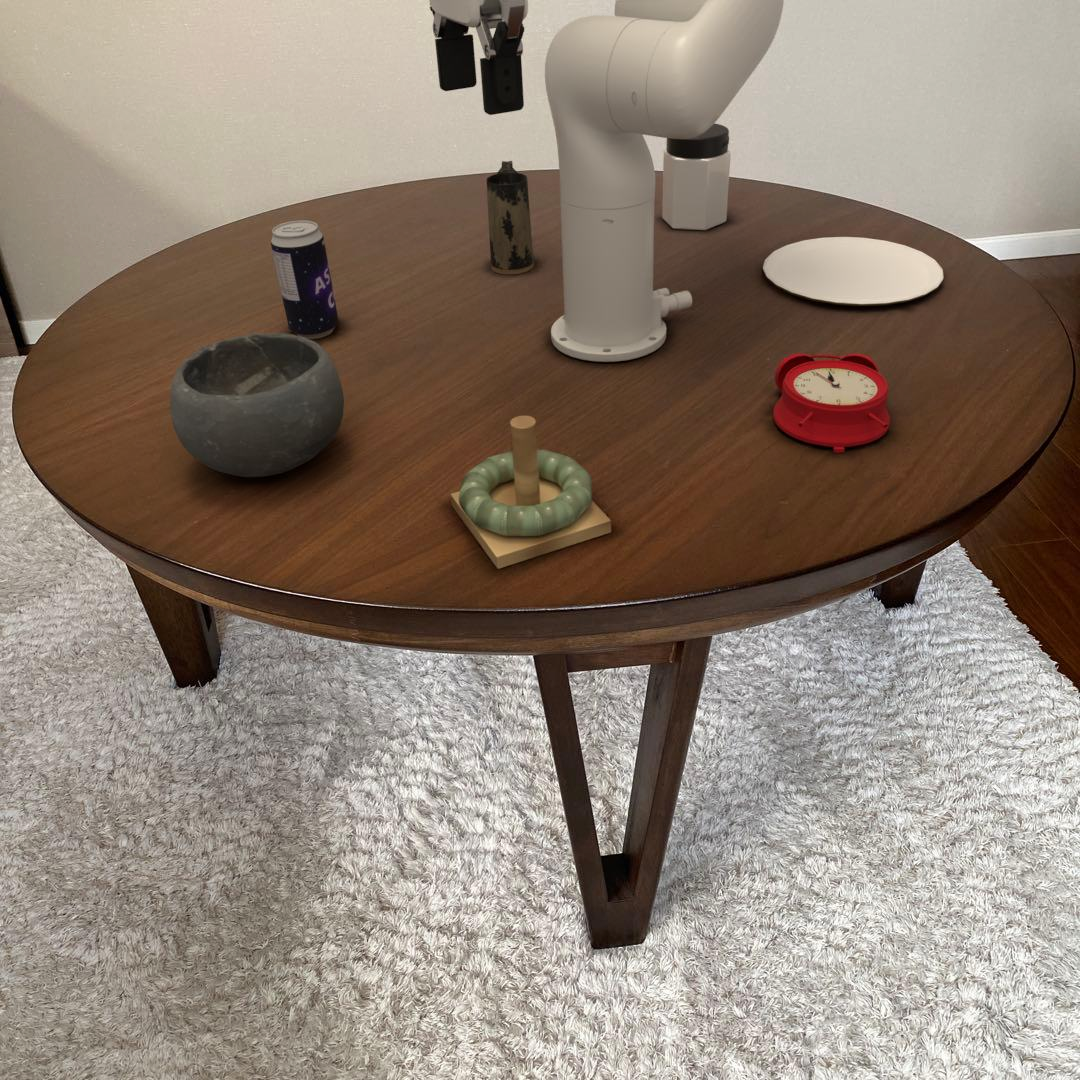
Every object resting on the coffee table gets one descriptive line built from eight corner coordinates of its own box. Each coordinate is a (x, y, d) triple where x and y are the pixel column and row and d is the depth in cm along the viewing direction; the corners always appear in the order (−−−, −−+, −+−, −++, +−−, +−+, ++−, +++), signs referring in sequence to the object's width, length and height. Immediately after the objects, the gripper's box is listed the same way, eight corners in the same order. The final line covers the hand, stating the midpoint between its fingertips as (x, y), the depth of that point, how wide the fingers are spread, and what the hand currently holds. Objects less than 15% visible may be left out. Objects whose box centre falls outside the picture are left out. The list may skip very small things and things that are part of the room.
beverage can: (329, 342, 112) (309, 237, 105) (282, 340, 113) (259, 236, 106) (347, 321, 117) (329, 219, 110) (301, 319, 118) (280, 218, 111)
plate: (981, 290, 115) (983, 280, 114) (827, 326, 109) (829, 315, 109) (869, 235, 131) (870, 225, 130) (730, 263, 125) (730, 254, 125)
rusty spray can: (533, 273, 126) (528, 176, 119) (490, 275, 126) (482, 178, 119) (533, 251, 132) (529, 157, 125) (492, 253, 132) (485, 159, 125)
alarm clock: (783, 420, 86) (772, 314, 96) (775, 471, 91) (765, 365, 101) (908, 421, 85) (884, 313, 95) (893, 473, 90) (871, 365, 100)
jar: (734, 227, 136) (740, 135, 129) (676, 234, 134) (679, 142, 127) (710, 207, 143) (715, 118, 136) (655, 214, 142) (657, 125, 134)
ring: (554, 455, 88) (553, 432, 87) (616, 516, 80) (616, 491, 79) (441, 490, 85) (438, 466, 83) (494, 557, 77) (492, 532, 75)
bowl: (159, 464, 93) (127, 367, 87) (295, 405, 101) (275, 312, 95) (243, 527, 84) (214, 423, 78) (385, 456, 92) (369, 357, 86)
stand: (557, 473, 88) (552, 380, 83) (611, 532, 81) (610, 433, 75) (451, 505, 85) (439, 410, 79) (497, 569, 78) (488, 469, 72)
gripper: (560, -157, 67) (568, 114, 77) (464, -158, 79) (482, 74, 90) (455, -149, 64) (478, 129, 74) (374, -152, 77) (402, 86, 87)
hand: (480, 99), depth 82 cm, fingers open, 9 cm apart
